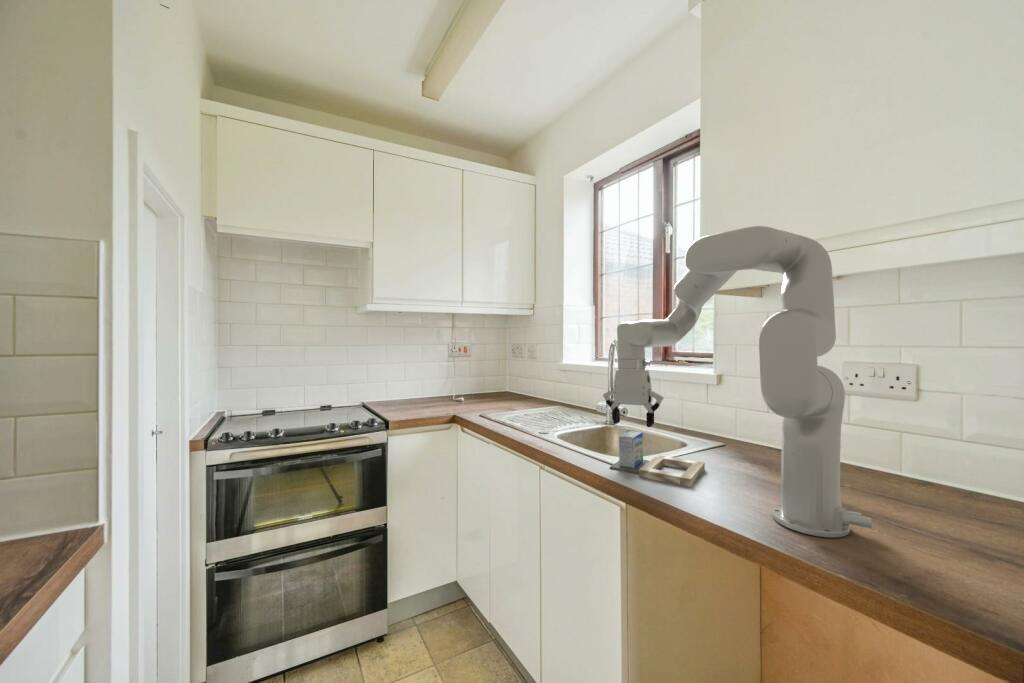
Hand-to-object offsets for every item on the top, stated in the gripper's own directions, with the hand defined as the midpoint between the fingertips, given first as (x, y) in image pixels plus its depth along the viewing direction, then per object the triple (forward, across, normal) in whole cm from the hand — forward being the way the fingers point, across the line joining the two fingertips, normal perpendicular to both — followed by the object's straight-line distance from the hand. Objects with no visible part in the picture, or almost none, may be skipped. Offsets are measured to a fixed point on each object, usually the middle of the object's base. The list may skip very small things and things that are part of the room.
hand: (632, 424), depth 119 cm
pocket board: (+12, -11, 0) cm, 16 cm away
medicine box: (+12, +1, 0) cm, 12 cm away
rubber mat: (+12, +1, 0) cm, 12 cm away
